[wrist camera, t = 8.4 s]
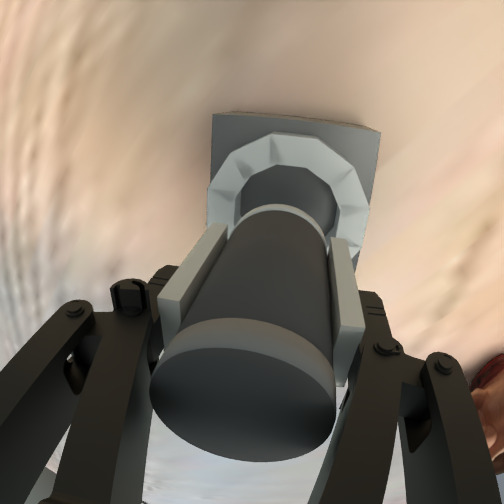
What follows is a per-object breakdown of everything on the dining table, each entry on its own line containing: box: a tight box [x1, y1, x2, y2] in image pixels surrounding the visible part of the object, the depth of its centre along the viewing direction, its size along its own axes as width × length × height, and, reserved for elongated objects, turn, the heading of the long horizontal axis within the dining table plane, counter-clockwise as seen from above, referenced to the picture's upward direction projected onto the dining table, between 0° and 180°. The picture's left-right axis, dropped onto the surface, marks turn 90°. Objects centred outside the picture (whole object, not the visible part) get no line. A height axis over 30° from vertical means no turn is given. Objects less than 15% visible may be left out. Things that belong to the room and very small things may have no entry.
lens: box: [149, 204, 336, 462], centre depth 12 cm, size 5×5×10 cm
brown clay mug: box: [470, 354, 504, 475], centre depth 27 cm, size 20×12×14 cm, turn 83°
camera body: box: [207, 112, 381, 273], centre depth 25 cm, size 18×11×8 cm, turn 177°
